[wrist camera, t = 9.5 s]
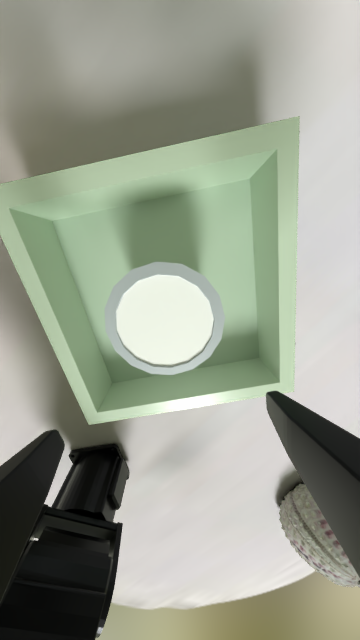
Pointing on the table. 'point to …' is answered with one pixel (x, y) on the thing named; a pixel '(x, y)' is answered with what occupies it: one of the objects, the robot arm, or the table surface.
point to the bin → (166, 246)
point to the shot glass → (164, 318)
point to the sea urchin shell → (315, 538)
